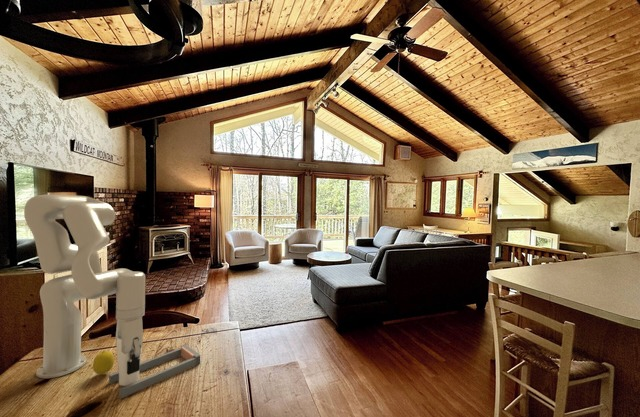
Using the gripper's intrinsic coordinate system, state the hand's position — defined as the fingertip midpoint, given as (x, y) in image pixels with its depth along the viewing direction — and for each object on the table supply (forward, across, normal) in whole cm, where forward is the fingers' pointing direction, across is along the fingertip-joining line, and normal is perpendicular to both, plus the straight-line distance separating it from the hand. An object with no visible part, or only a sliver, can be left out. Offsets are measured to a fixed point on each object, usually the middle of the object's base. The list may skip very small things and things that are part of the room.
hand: (129, 367), depth 87 cm
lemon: (+6, -12, -4) cm, 14 cm away
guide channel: (+5, 0, +8) cm, 10 cm away
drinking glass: (+5, 0, 0) cm, 5 cm away
